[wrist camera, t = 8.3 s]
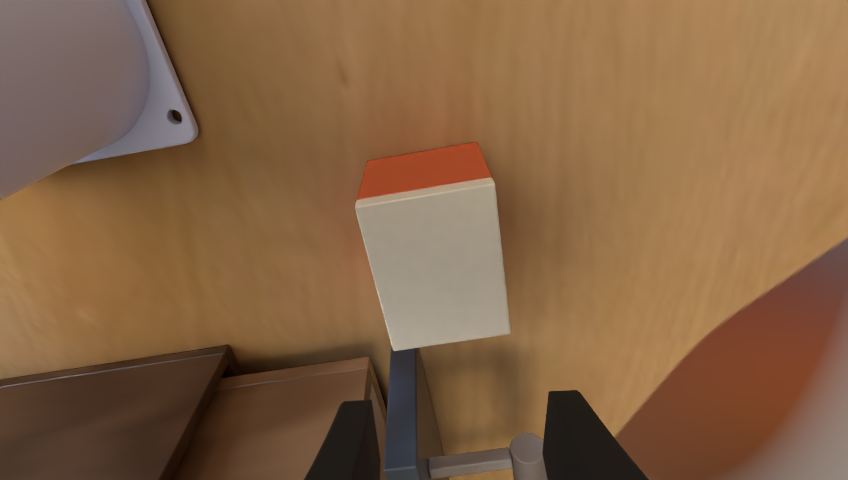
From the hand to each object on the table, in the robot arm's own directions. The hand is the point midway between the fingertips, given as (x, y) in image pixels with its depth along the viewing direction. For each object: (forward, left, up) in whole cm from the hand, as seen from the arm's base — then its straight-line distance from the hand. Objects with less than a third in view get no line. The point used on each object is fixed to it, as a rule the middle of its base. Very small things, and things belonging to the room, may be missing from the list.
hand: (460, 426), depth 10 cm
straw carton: (0, 0, -10) cm, 10 cm away
